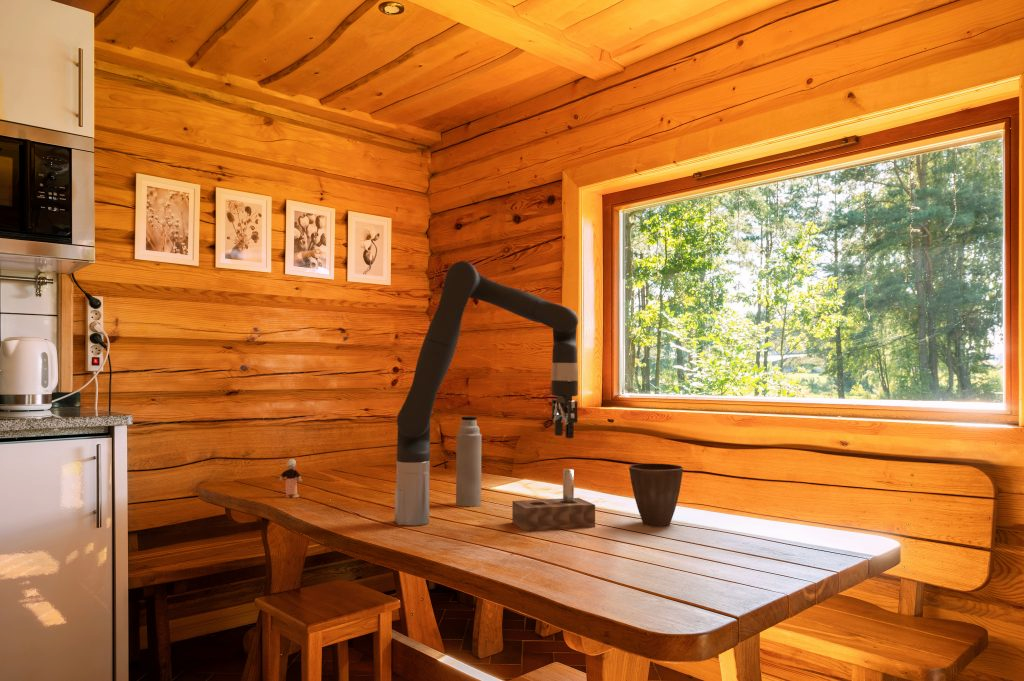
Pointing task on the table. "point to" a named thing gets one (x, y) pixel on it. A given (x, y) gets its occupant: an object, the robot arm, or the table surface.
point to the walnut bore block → (552, 514)
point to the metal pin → (568, 486)
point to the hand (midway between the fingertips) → (563, 436)
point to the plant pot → (656, 491)
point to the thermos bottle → (468, 463)
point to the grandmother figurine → (291, 479)
